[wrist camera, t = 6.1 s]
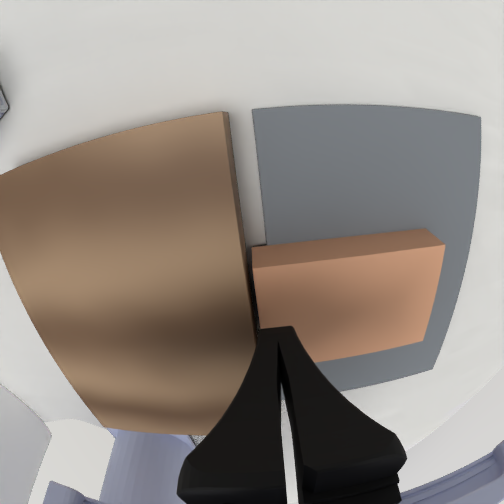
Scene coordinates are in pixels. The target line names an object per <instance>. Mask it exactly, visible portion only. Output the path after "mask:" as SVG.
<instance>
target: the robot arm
mask: <svg viewBox="0 0 504 504" xmlns="http://www.w3.org/2000/svg"><path fill="white" fill-rule="evenodd" d="M281 384H282V388H283V393H284V398H285V402H286V407H287V412H288V416H289V421H290V426H291V432H292V439H293V449H294V459H295V469H296V480H297V491H298V503H299V504H498V503H500V502H501V501H502V500H504V440H503V441H502V442H501V443H500V444H498V445H497V446H496V447H495V448H494V450H493V451H492V452H491V453H489V454H487V455H486V456H484V457H482V458H480V459H478V460H476V461H474V462H472V463H471V464H469V465H467V466H465V467H463V468H461V469H458V470H456V471H454V472H452V473H450V474H448V475H446V476H443V477H441V478H439V479H437V480H434V481H432V482H429V483H427V484H424V485H422V486H419V487H416V488H414V489H411V490H408V491H405V492H402V493H400V492H399V488H398V483H399V477H398V474H397V472H398V471H399V470H400V469H401V467H402V466H403V465H404V464H405V462H406V460H407V456H406V453H405V450H404V448H403V446H402V444H401V442H400V440H399V439H398V437H397V436H396V434H395V433H393V432H392V431H390V430H388V429H386V428H385V427H383V426H382V425H380V424H378V423H377V422H375V421H374V420H373V419H371V418H370V417H368V416H367V415H366V414H364V413H363V412H362V411H360V410H359V409H358V408H357V407H356V406H354V405H353V404H352V403H351V402H350V401H348V400H347V399H346V398H345V397H344V396H343V395H342V394H341V393H340V392H339V391H338V390H337V389H336V388H335V387H334V386H333V385H332V384H331V383H330V382H329V381H328V379H327V378H326V377H325V376H324V375H323V373H322V372H321V371H320V370H319V368H318V367H317V366H316V364H315V363H314V362H313V360H312V359H311V357H310V356H309V354H308V353H307V351H306V350H305V348H304V347H303V345H302V343H301V341H300V340H299V338H298V336H297V334H296V331H295V329H294V327H293V326H282V327H273V328H264V329H260V330H259V332H258V340H257V344H256V348H255V351H254V355H253V357H252V360H251V363H250V366H249V368H248V371H247V373H246V375H245V377H244V380H243V382H242V384H241V386H240V388H239V390H238V392H237V394H236V395H235V397H234V399H233V401H232V402H231V404H230V405H229V407H228V408H227V410H226V411H225V413H224V414H223V416H222V417H221V419H220V420H219V421H218V423H217V424H216V425H215V426H214V428H213V429H212V430H211V431H210V432H209V434H208V435H207V436H206V437H205V438H204V439H203V440H202V442H201V443H200V444H199V445H198V446H197V447H196V446H195V445H194V443H193V441H192V440H191V438H190V436H189V435H174V434H158V433H146V432H136V431H127V430H119V429H112V428H107V430H108V431H109V432H110V433H111V434H112V435H113V436H114V437H115V442H114V446H113V449H112V453H111V456H110V460H109V464H108V467H107V471H106V475H105V479H104V482H103V487H102V490H101V494H100V499H99V501H98V500H95V499H91V498H88V497H85V496H84V495H83V494H81V493H80V492H78V491H76V490H74V489H72V488H70V487H67V486H64V485H61V484H58V483H56V482H53V481H50V482H49V486H48V488H47V492H46V495H45V498H44V501H43V504H287V494H286V482H285V470H284V458H283V447H282V436H281Z"/></svg>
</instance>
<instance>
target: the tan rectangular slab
mask: <svg viewBox="0 0 504 504" xmlns="http://www.w3.org/2000/svg"><path fill="white" fill-rule="evenodd" d="M444 251H445V244H444V243H443V242H442V241H440V240H439V239H438V238H437V237H436V236H434V235H433V234H432V233H431V232H429V231H428V230H427V229H415V230H406V231H396V232H387V233H378V234H368V235H359V236H350V237H340V238H331V239H322V240H313V241H304V242H295V243H286V244H277V245H268V246H259V247H252V269H253V276H254V284H255V291H256V299H257V306H258V314H259V321H260V329H264V328H273V327H282V326H293V327H294V329H295V331H296V334H297V336H298V338H299V340H300V341H301V343H302V345H303V347H304V348H305V350H306V351H307V353H308V354H309V356H310V357H311V359H312V360H313V362H314V363H316V362H322V361H329V360H335V359H341V358H346V357H352V356H357V355H363V354H368V353H373V352H377V351H382V350H387V349H391V348H396V347H400V346H404V345H408V344H412V343H416V342H420V341H423V339H424V335H425V332H426V329H427V325H428V322H429V318H430V315H431V311H432V307H433V303H434V299H435V295H436V291H437V286H438V282H439V277H440V273H441V268H442V262H443V257H444Z"/></svg>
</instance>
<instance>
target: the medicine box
mask: <svg viewBox="0 0 504 504" xmlns="http://www.w3.org/2000/svg"><path fill="white" fill-rule="evenodd" d="M7 110H8V105H7V103H6V101H5V99H4V96H3V94H2V92H1V89H0V118H1V117H2V116H3V114H4V113H5V112H6V111H7Z"/></svg>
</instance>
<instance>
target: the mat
mask: <svg viewBox="0 0 504 504" xmlns="http://www.w3.org/2000/svg"><path fill="white" fill-rule="evenodd" d="M252 114H253V123H254V131H255V140H256V149H257V157H258V166H259V175H260V185H261V194H262V203H263V213H264V222H265V232H266V242H267V246H268V245H277V244H286V243H295V242H304V241H313V240H322V239H331V238H340V237H350V236H359V235H368V234H378V233H387V232H396V231H406V230H415V229H427V230H428V231H429V232H431V233H432V234H433V235H434V236H436V237H437V238H438V239H439V240H440V241H442V242H443V243H444V244H445V251H444V257H443V262H442V268H441V273H440V277H439V282H438V286H437V291H436V295H435V299H434V303H433V307H432V311H431V315H430V318H429V322H428V325H427V329H426V332H425V335H424V339H423V341H420V342H416V343H412V344H408V345H404V346H400V347H396V348H391V349H387V350H382V351H377V352H373V353H368V354H363V355H357V356H352V357H346V358H341V359H335V360H329V361H322V362H316V363H315V364H316V366H317V367H318V368H319V370H320V371H321V372H322V373H323V375H324V376H325V377H326V378H327V379H328V381H329V382H330V383H331V384H332V385H333V386H334V387H335V388H336V389H337V390H338V391H339V392H340V391H346V390H351V389H356V388H361V387H366V386H370V385H375V384H379V383H383V382H388V381H392V380H396V379H400V378H403V377H407V376H411V375H414V374H418V373H421V372H425V371H428V370H431V369H433V367H434V364H435V362H436V360H437V357H438V355H439V352H440V349H441V347H442V344H443V341H444V339H445V336H446V333H447V330H448V327H449V324H450V321H451V318H452V315H453V312H454V309H455V305H456V302H457V298H458V295H459V291H460V288H461V284H462V280H463V276H464V272H465V268H466V263H467V259H468V254H469V249H470V244H471V239H472V233H473V227H474V221H475V214H476V206H477V198H478V189H479V177H480V161H481V117H478V116H472V115H466V114H460V113H454V112H446V111H439V110H430V109H421V108H410V107H396V106H378V105H308V106H289V107H275V108H263V109H253V110H252ZM281 400H285V398H284V393H283V388H282V384H281Z"/></svg>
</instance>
